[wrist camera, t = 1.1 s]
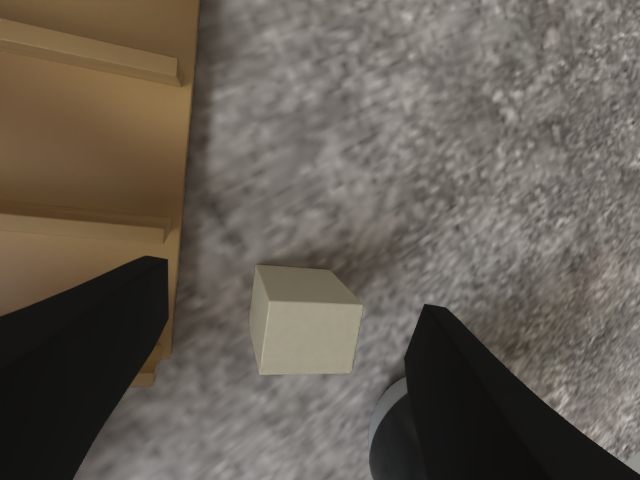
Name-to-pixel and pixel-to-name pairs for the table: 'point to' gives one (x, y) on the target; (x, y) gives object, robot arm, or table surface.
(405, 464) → the black rounded egg shape
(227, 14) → the table surface
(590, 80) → the table surface
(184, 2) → the dish rack
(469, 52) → the table surface
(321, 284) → the block
